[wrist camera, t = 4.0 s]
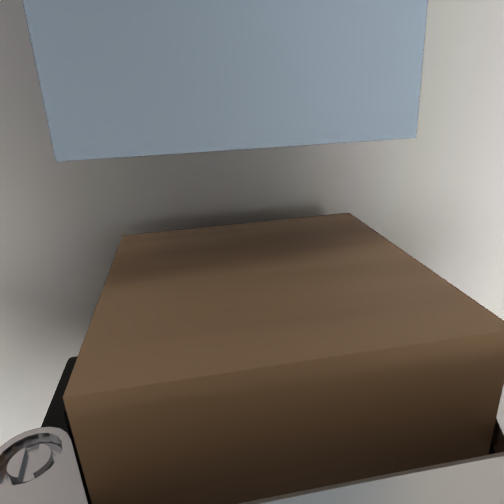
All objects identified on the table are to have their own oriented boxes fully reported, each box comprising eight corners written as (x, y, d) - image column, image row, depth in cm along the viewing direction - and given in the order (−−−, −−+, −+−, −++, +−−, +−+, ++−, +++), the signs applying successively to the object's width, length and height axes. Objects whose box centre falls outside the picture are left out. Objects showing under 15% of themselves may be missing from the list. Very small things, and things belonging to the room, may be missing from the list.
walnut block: (122, 235, 10) (61, 397, 5) (348, 212, 11) (515, 329, 6) (154, 420, 13) (139, 675, 7) (342, 389, 13) (458, 596, 8)
